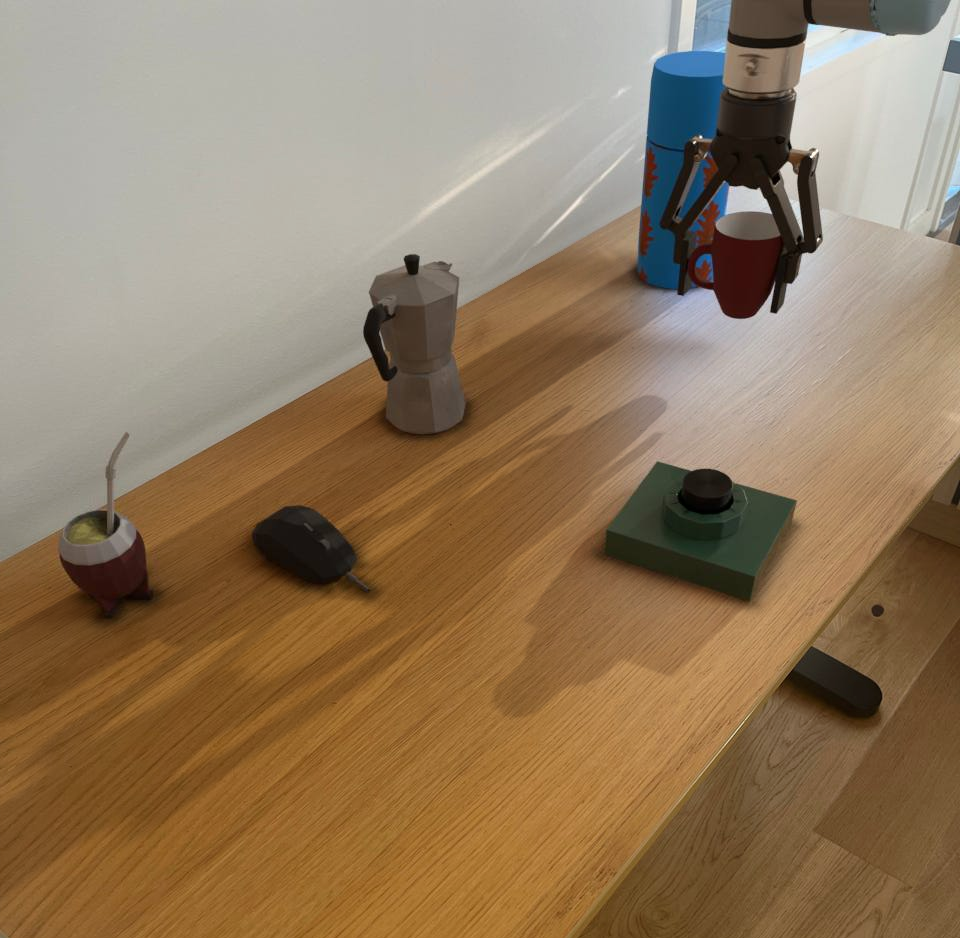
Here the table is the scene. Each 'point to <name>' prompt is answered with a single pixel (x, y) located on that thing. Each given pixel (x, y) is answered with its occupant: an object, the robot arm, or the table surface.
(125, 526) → the mate gourd
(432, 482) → the table surface
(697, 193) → the thermos
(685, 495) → the black round button
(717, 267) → the mug
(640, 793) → the table surface
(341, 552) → the gaming mouse
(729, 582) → the green button base
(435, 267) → the coffeepot
